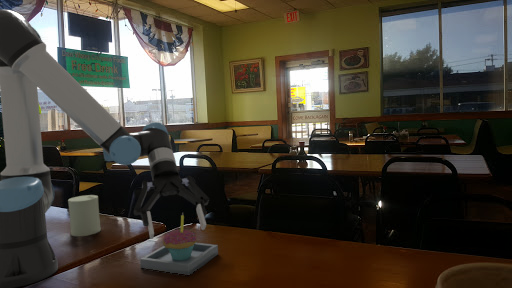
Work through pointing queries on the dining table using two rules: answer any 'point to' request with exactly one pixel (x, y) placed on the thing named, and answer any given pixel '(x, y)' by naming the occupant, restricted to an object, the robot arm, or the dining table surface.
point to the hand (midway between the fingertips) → (178, 231)
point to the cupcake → (180, 242)
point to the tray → (164, 260)
